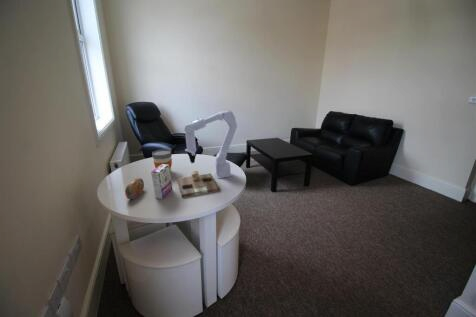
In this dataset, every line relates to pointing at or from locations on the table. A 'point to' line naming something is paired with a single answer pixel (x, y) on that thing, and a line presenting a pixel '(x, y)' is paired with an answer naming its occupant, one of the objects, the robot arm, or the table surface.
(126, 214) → the table surface
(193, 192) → the board
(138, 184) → the brown flattened oblong
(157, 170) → the candy bar box
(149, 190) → the table surface
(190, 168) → the table surface
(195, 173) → the maple block
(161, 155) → the orange jar
